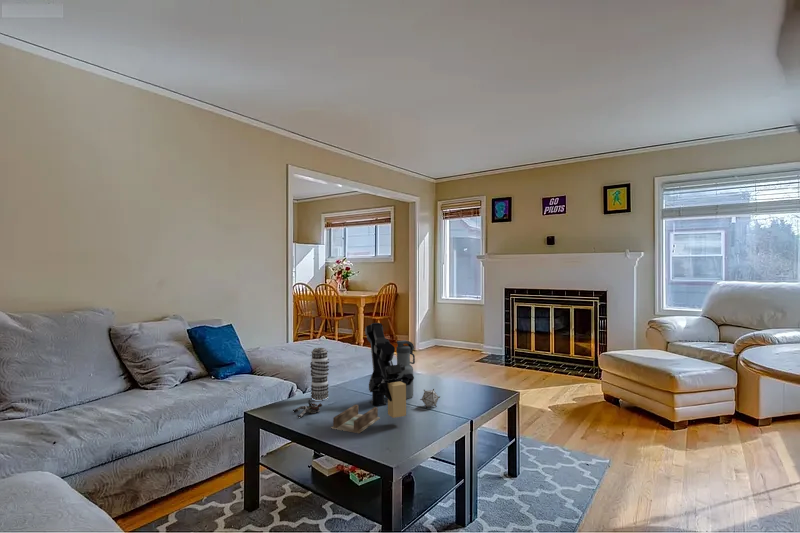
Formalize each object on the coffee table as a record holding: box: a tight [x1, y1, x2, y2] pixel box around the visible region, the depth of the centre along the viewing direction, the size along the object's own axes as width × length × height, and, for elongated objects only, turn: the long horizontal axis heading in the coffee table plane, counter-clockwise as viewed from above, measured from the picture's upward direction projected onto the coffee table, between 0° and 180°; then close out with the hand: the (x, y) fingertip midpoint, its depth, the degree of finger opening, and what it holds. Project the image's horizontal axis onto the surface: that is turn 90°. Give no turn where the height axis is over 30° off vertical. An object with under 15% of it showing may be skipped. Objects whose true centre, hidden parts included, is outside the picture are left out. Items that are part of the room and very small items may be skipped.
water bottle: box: [395, 339, 416, 400], centre depth 218 cm, size 10×10×28 cm
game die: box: [419, 388, 441, 409], centre depth 201 cm, size 9×8×10 cm
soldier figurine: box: [292, 399, 323, 419], centre depth 192 cm, size 8×11×12 cm
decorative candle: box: [309, 347, 330, 400], centre depth 215 cm, size 9×9×25 cm
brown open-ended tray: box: [330, 404, 380, 434], centre depth 180 cm, size 18×13×5 cm
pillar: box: [387, 381, 407, 419], centre depth 179 cm, size 5×6×13 cm
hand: (398, 399), depth 178 cm, fingers closed on pillar, 6 cm apart
